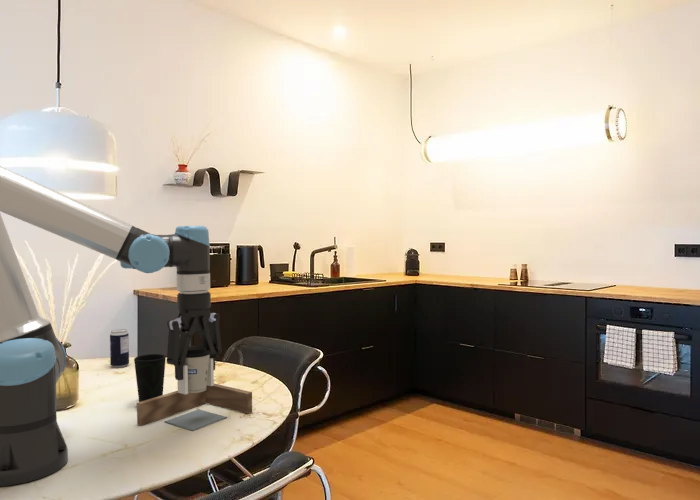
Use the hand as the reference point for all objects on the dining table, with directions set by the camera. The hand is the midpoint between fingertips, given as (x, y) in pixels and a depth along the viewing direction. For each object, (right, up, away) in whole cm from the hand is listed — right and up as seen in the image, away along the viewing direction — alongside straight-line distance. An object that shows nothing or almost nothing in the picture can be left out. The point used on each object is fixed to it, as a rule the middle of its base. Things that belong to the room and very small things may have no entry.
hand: (196, 388), depth 125 cm
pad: (0, -7, 0) cm, 7 cm away
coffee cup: (0, -1, 0) cm, 1 cm away
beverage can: (-40, -6, +51) cm, 66 cm away
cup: (-16, -7, +13) cm, 22 cm away
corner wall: (0, -7, +2) cm, 8 cm away
